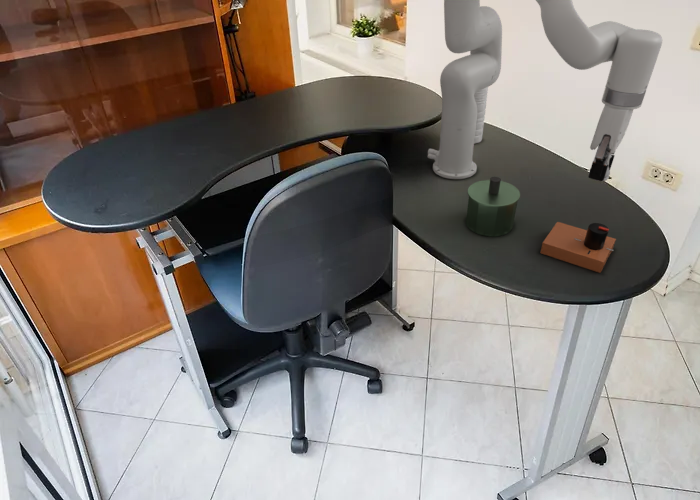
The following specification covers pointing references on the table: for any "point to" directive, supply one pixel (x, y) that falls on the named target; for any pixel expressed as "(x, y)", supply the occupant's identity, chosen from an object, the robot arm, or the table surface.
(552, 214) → the table surface
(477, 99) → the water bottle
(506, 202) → the pot lid
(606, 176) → the rook chess piece
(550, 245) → the knob base block
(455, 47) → the robot arm
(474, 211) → the pot
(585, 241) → the stove knob
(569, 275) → the table surface
